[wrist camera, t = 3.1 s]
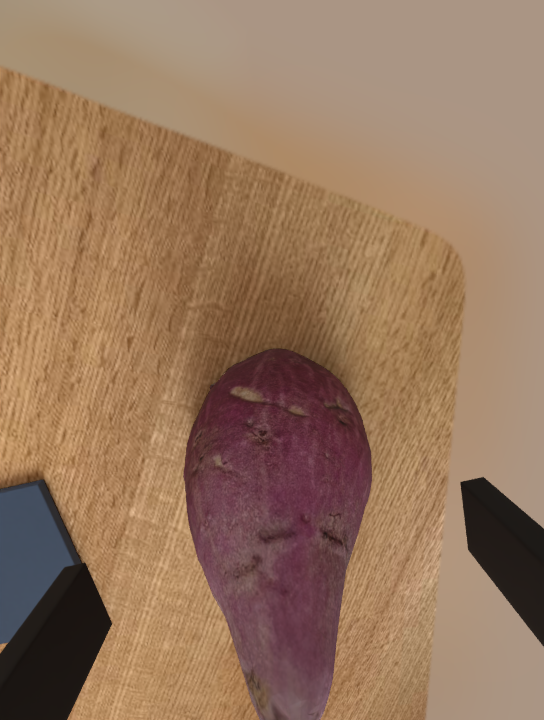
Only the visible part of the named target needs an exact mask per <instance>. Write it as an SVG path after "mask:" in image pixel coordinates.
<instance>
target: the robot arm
mask: <svg viewBox="0 0 544 720" xmlns="http://www.w3.org/2000/svg"><path fill="white" fill-rule="evenodd" d="M461 491H462V500H463V509H464V517H465V526H466V535H467V543H468V550H469V551H470V553H471V554H472V555H473V556H474V558H475V559H476V560H477V562H478V563H479V564H480V566H481V567H482V568H483V569H484V571H485V572H486V573H487V574H488V576H489V577H490V578H491V580H492V581H493V582H494V583H495V585H496V586H497V587H498V589H499V590H500V591H501V592H502V594H503V595H504V596H505V598H506V599H507V600H508V601H509V603H510V604H511V605H512V606H513V608H514V609H515V610H516V612H517V613H518V614H519V615H520V617H521V618H522V619H523V621H524V622H525V623H526V625H527V626H528V627H529V628H530V630H531V631H532V632H533V633H534V635H535V636H536V637H537V639H538V640H539V641H540V642H541V644H542V645H543V646H544V529H543V528H542V527H541V526H540V525H539V524H538V523H536V522H535V521H534V520H533V519H531V517H529V516H528V515H527V514H526V513H525V512H524V511H522V510H521V509H520V508H519V507H518V506H517V505H515V504H514V503H513V502H512V501H511V500H509V499H508V498H507V497H506V496H505V495H504V494H503V493H501V492H500V491H499V490H498V489H497V488H496V487H494V486H493V485H492V484H491V483H490V482H488V481H487V480H486V479H485V478H484V477H482V478H477V479H472V480H468V481H463V482H461ZM111 625H112V622H111V620H110V617H109V615H108V613H107V611H106V608H105V606H104V604H103V602H102V599H101V597H100V595H99V593H98V590H97V588H96V586H95V584H94V581H93V579H92V577H91V575H90V572H89V570H88V568H87V566H86V563H81V564H77V565H72V566H67V567H64V568H63V570H62V571H61V572H60V574H59V575H58V576H57V578H56V579H55V580H54V582H53V583H52V585H51V586H50V587H49V589H48V590H47V591H46V593H45V594H44V595H43V597H42V598H41V599H40V601H39V602H38V603H37V605H36V606H35V608H34V609H33V610H32V612H31V613H30V614H29V616H28V617H27V618H26V620H25V621H24V622H23V624H22V625H21V626H20V628H19V629H18V630H17V632H16V633H15V635H14V636H13V637H12V639H11V640H10V641H9V643H8V644H7V645H6V647H5V648H4V649H3V651H2V652H1V653H0V720H67V719H68V717H69V714H70V712H71V710H72V708H73V706H74V704H75V702H76V700H77V697H78V695H79V693H80V691H81V689H82V687H83V685H84V683H85V680H86V678H87V676H88V674H89V672H90V670H91V668H92V666H93V663H94V661H95V659H96V657H97V655H98V653H99V651H100V648H101V646H102V644H103V642H104V640H105V638H106V636H107V634H108V631H109V629H110V627H111Z"/></svg>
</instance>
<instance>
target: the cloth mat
mask: <svg viewBox="0 0 544 720" xmlns="http://www.w3.org/2000/svg"><path fill="white" fill-rule="evenodd" d="M77 564H81V561H80V559H79V557H78V554H77V552H76V550H75V548H74V546H73V543H72V541H71V539H70V537H69V535H68V532H67V530H66V528H65V526H64V524H63V521H62V519H61V517H60V515H59V513H58V510H57V508H56V506H55V504H54V502H53V500H52V497H51V495H50V493H49V491H48V489H47V486H46V484H45V482H44V480H39V481H35V482H30V483H26V484H21V485H17V486H12V487H8V488H3V489H0V644H3V643H8V642H9V641H10V640H11V639H12V637H13V636H14V635H15V633H16V632H17V630H18V629H19V628H20V626H21V625H22V624H23V622H24V621H25V620H26V618H27V617H28V616H29V614H30V613H31V612H32V610H33V609H34V608H35V606H36V605H37V603H38V602H39V601H40V599H41V598H42V597H43V595H44V594H45V593H46V591H47V590H48V589H49V587H50V586H51V585H52V583H53V582H54V580H55V579H56V578H57V576H58V575H59V574H60V572H61V571H62V570H63V568H64V567H67V566H72V565H77Z"/></svg>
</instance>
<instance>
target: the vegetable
mask: <svg viewBox="0 0 544 720" xmlns="http://www.w3.org/2000/svg"><path fill="white" fill-rule="evenodd" d="M183 477H184V481H185V491H186V503H187V513H188V520H189V526H190V531H191V534H192V538H193V541H194V545H195V549H196V553H197V557H198V560H199V562H200V564H201V566H202V568H203V571H204V574H205V576H206V579H207V581H208V584H209V586H210V589H211V591H212V594H213V596H214V598H215V600H216V601H217V603H218V605H219V607H220V608H221V610H222V612H223V614H224V616H225V618H226V620H227V623H228V626H229V629H230V632H231V636H232V639H233V642H234V645H235V648H236V652H237V655H238V658H239V661H240V665H241V668H242V671H243V674H244V678H245V681H246V684H247V687H248V691H249V694H250V697H251V701H252V703H253V705H254V707H255V710H256V712H257V714H258V717H259V719H260V720H320V719H321V717H322V714H323V712H324V709H325V706H326V703H327V700H328V696H329V692H330V688H331V684H332V679H333V673H334V661H335V651H336V641H337V632H338V623H339V616H340V608H341V601H342V595H343V588H344V581H345V574H346V569H347V566H348V563H349V560H350V557H351V554H352V550H353V547H354V544H355V541H356V538H357V535H358V532H359V528H360V524H361V521H362V517H363V513H364V509H365V506H366V504H367V501H368V498H369V494H370V488H371V482H372V466H371V451H370V447H369V443H368V439H367V435H366V432H365V428H364V425H363V420H362V418H361V415H360V413H359V411H358V409H357V406H356V404H355V402H354V400H353V399H352V397H351V396H350V394H349V392H348V391H347V389H346V388H345V387H344V385H343V384H342V383H341V382H340V381H339V379H338V378H337V377H335V376H334V375H333V374H332V373H331V372H330V371H328V370H327V369H326V368H324V367H322V366H320V365H318V364H316V363H315V362H313V361H311V360H310V359H308V358H306V357H304V356H302V355H300V354H297V353H295V352H293V351H289V350H285V349H270V350H266V351H264V352H261V353H259V354H256V355H254V356H252V357H250V358H248V359H246V360H244V361H242V362H240V363H238V364H236V365H233V366H232V367H230V368H229V369H228V370H227V371H226V373H225V374H224V375H223V376H222V377H221V378H220V379H219V380H218V381H217V382H216V383H215V384H213V385H211V386H210V391H209V393H208V395H207V397H206V399H205V401H204V403H203V405H202V408H201V410H200V412H199V414H198V416H197V418H196V420H195V422H194V424H193V427H192V430H191V433H190V436H189V440H188V443H187V449H186V458H185V468H184V476H183Z"/></svg>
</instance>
